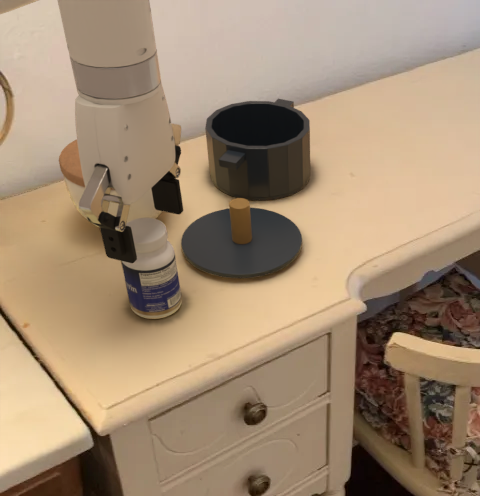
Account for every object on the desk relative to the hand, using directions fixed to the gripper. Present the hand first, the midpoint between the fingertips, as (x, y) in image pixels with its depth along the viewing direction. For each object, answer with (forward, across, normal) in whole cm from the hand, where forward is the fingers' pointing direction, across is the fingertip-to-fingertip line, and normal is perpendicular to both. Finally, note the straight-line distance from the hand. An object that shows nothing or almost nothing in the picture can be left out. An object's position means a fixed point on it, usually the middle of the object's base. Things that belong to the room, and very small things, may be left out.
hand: (146, 234), depth 87 cm
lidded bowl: (+10, -14, -12) cm, 21 cm away
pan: (+9, -31, -1) cm, 33 cm away
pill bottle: (+10, 0, 0) cm, 10 cm away
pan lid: (+9, -14, +4) cm, 17 cm away
